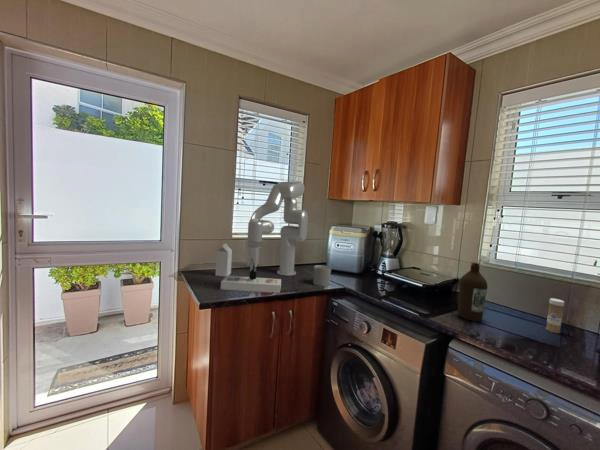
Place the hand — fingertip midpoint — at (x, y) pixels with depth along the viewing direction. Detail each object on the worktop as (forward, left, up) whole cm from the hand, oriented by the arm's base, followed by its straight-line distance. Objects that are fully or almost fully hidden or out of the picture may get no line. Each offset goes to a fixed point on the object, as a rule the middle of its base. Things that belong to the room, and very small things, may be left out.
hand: (252, 278), depth 149 cm
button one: (0, +10, -5) cm, 11 cm away
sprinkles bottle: (+34, +131, -5) cm, 135 cm away
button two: (0, -10, -5) cm, 11 cm away
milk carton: (-22, -21, -5) cm, 31 cm away
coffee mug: (-18, +39, -5) cm, 43 cm away
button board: (0, 0, -5) cm, 5 cm away
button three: (0, 0, -5) cm, 5 cm away
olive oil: (+24, +102, -5) cm, 105 cm away
